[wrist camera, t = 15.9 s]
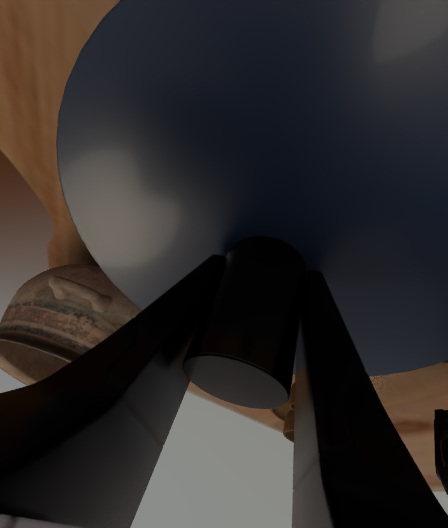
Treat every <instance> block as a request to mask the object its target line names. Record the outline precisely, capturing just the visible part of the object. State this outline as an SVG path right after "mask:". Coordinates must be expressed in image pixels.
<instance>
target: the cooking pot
mask: <svg viewBox="0 0 448 528" xmlns="http://www.w3.org/2000/svg"><path fill="white" fill-rule="evenodd" d="M141 311H142V310H141V309H140V308H139V307H138V306H137V305H136V304H134V303H133V302H132V301H131V300H130V299H129V298H128V297H127V296H126V295H125V294H124V293H123V292H122V291H121V290H120V289H119V288H118V287H117V286H116V285H115V284H114V283H113V282H112V281H111V280H110V279H109V277H108V276H107V275H106V274H105V273H104V272H103V270H102V269H101V268H100V266H94V265H84V264H82V265H65V266H61V267H56V268H52V269H49V270H47V271H44V272H42V273H40V274H38V275H37V276H35V277H33V278H31V279H30V280H28V281H27V282H26V283H24V284H23V285H22V287H20V288H19V290H18V291H17V292H16V294H15V295H14V297H13V299H12V300H11V302H10V304H9V305H8V307H7V309H6V311H5V313H4V315H3V317H2V320H1V322H0V368H1V369H2V370H3V371H5V372H6V373H8V374H9V375H11V376H12V377H14V378H16V379H17V380H19V381H20V382H22V383H24V384H26V385H27V386H28V385H31V384H34V383H36V382H38V381H40V380H42V379H44V378H46V377H48V376H50V375H51V374H53V373H55V372H56V371H58V370H59V369H61V368H62V367H64V366H65V365H67V364H68V363H70V362H71V361H73V360H74V359H76V358H77V357H79V356H81V355H82V354H84V353H85V352H87V351H88V350H90V349H91V348H93V347H94V346H96V345H97V344H98V343H100V342H101V341H103V340H104V339H106V338H107V337H109V336H110V335H111V334H113V333H114V332H115V331H117V330H118V329H119V328H121V327H122V326H123V325H124V324H126V323H127V322H128V321H130V320H131V319H132V318H135V316H136V315H137V314H138V313H140V312H141Z"/></svg>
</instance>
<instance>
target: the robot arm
mask: <svg viewBox="0 0 448 528" xmlns="http://www.w3.org/2000/svg"><path fill="white" fill-rule="evenodd" d="M225 259H226V258H225V256H223V255H217V254H213V255H211V256H210V257H209V258H207V259H206V260H205V261H204V262H202V263H201V264H200V265H199V266H197V267H196V268H195V269H194V270H192V271H191V272H190V273H189V274H187V275H186V276H185V277H184V278H182V279H181V280H180V281H179V282H177V283H176V284H175V285H174V286H172V287H171V288H170V289H169V290H167V291H166V292H165V293H164V294H162V295H161V296H160V297H159V298H157V299H156V300H155V301H154V302H152V303H151V304H150V305H148V306H147V307H146V308H145V309H143V310H142V311H141V312H140V313H138V314H137V315H136V316H135V318H132V319H131V320H130V321H128V322H127V323H126V324H124V325H123V326H122V327H121V328H119V329H118V330H117V331H115V332H114V333H113V334H111V335H110V336H109V337H107V338H106V339H104V340H103V341H101V342H100V343H98V344H97V345H96V346H94V347H93V348H91V349H90V350H88V351H87V352H85V353H84V354H82V355H81V356H79V357H77V358H76V359H74V360H73V361H71V362H70V363H68V364H67V365H65V366H64V367H62V368H61V369H59V370H58V371H56V372H55V373H53V374H51V375H50V376H48V377H46V378H44V379H42V380H40V381H38V382H36V383H34V384H31V385H28V386H25V387H22V388H19V389H15V390H11V391H7V392H4V393H0V528H130V527H131V524H132V522H133V519H134V517H135V515H136V512H137V510H138V507H139V505H140V502H141V500H142V497H143V495H144V493H145V490H146V487H147V485H148V483H149V480H150V477H151V475H152V473H153V471H154V468H155V466H156V463H157V461H158V458H159V456H160V453H161V451H162V448H163V445H164V443H165V441H166V439H167V436H168V434H169V431H170V429H171V426H172V424H173V421H174V419H175V417H176V414H177V412H178V409H179V407H180V404H181V402H182V399H183V397H184V394H185V392H186V390H187V387H188V385H189V382H190V380H189V379H188V377H187V376H186V375H185V373H184V371H183V368H182V363H183V360H184V358H185V355H186V353H187V351H188V348H189V346H190V343H191V341H192V339H193V336H194V334H195V331H196V329H197V327H198V324H199V322H200V319H201V317H202V315H203V312H204V310H205V307H206V305H207V303H208V300H209V298H210V295H211V293H212V291H213V288H214V286H215V283H216V281H217V278H218V276H219V274H220V271H221V269H222V266H223V264H224V262H225ZM443 362H447V363H448V360H446V361H443ZM365 370H366V369H365V367H364V365H363V363H362V360H361V358H360V356H359V354H358V351H357V349H356V347H355V345H354V343H353V340H352V338H351V336H350V334H349V331H348V329H347V327H346V325H345V323H344V320H343V318H342V316H341V314H340V311H339V309H338V307H337V305H336V303H335V300H334V298H333V296H332V294H331V291H330V289H329V287H328V285H327V283H326V280H325V278H324V276H323V274H322V272H320V271H315V270H308V271H307V274H306V279H305V287H304V294H303V302H302V309H301V317H300V324H299V332H298V339H297V347H296V365H295V414H294V464H293V465H294V466H293V512H292V528H448V515H447V514H446V512H445V511H444V509H443V508H442V506H441V505H440V503H439V502H438V500H437V499H436V497H435V496H434V494H433V492H432V491H431V489H430V487H429V486H428V484H427V482H426V480H425V479H424V477H423V475H422V474H421V472H420V470H419V468H418V467H417V465H416V463H415V462H414V460H413V458H412V456H411V455H410V453H409V451H408V450H407V448H406V446H405V444H404V443H403V441H402V439H401V438H400V436H399V434H398V432H397V431H396V429H395V427H394V425H393V424H392V422H391V420H390V418H389V416H388V414H387V413H386V411H385V409H384V407H383V405H382V403H381V401H380V399H379V397H378V395H377V393H376V391H375V389H374V387H373V385H372V382H371V380H370V378H369V376H368V373H367V372H365ZM434 439H435V467H436V474H437V476H438V478H439V479H440V480H441V482H442V484H443V487H444V489H445V491H446V493H447V495H448V410H443V409H437V410H435V420H434Z"/></svg>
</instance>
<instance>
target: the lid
mask: <svg viewBox="0 0 448 528" xmlns="http://www.w3.org/2000/svg"><path fill="white" fill-rule="evenodd" d="M56 145H57V161H58V171H59V176H60V181H61V186H62V191H63V195H64V198H65V201H66V204H67V207H68V210H69V213H70V216H71V218H72V220H73V222H74V224H75V227H76V229H77V231H78V233H79V235H80V237H81V239H82V240H83V242H84V244H85V245H86V247H87V249H88V251H89V252H90V254H91V255H92V257H93V258H94V259H95V261H96V262H97V264H98V265H99V266H100V268H101V269H102V270H103V272H104V273H105V274H106V275H107V276H108V277H109V279H110V280H111V281H112V282H113V283H114V284H115V285H116V286H117V287H118V288H119V289H120V290H121V291H122V292H123V293H124V294H125V295H126V296H127V297H128V298H129V299H130V300H131V301H132V302H133V303H134V304H136V305H137V306H138V307H139V308H140V309H141V310H143V309H145V308H146V307H147V306H148V305H150V304H151V303H152V302H154V301H155V300H156V299H157V298H159V297H160V296H161V295H162V294H164V293H165V292H166V291H167V290H169V289H170V288H171V287H172V286H174V285H175V284H176V283H177V282H179V281H180V280H181V279H182V278H184V277H185V276H186V275H187V274H189V273H190V272H191V271H192V270H194V269H195V268H196V267H197V266H199V265H200V264H201V263H202V262H204V261H205V260H206V259H207V258H209V257H210V256H211V255H213V254H217V255H223V256H225V258H226V259H225V262H224V264H223V266H222V269H221V271H220V274H219V276H218V278H217V281H216V283H215V286H214V288H213V291H212V293H211V295H210V298H209V300H208V303H207V305H206V307H205V310H204V312H203V315H202V317H201V319H200V322H199V324H198V327H197V329H196V331H195V334H194V336H193V339H192V341H191V343H190V346H189V348H188V351H187V353H186V355H185V358H184V360H183V363H182V368H183V371H184V373H185V375H186V376H187V377H188V379H189V380H190V381H191V382H192V383H194V384H195V385H196V386H198V387H199V388H200V389H202V390H204V391H205V392H207V393H209V394H211V395H213V396H215V397H217V398H219V399H222V400H224V401H227V402H230V403H233V404H236V405H240V406H245V407H250V408H258V409H271V408H277V407H281V406H283V405H284V404H286V403H287V402H288V400H289V398H290V392H291V384H292V377H293V374H295V365H296V347H297V339H298V332H299V324H300V317H301V309H302V302H303V294H304V287H305V279H306V274H307V271H308V270H315V271H320V272H322V274H323V276H324V278H325V280H326V283H327V285H328V287H329V289H330V291H331V294H332V296H333V298H334V300H335V303H336V305H337V307H338V309H339V311H340V314H341V316H342V318H343V320H344V323H345V325H346V327H347V329H348V331H349V334H350V336H351V338H352V340H353V343H354V345H355V347H356V349H357V351H358V354H359V356H360V358H361V360H362V363H363V365H364V367H365V369H366V370H365V372H367V373H368V376H379V375H387V374H393V373H399V372H405V371H410V370H415V369H419V368H423V367H427V366H431V365H434V364H437V363H440V362H443V361H446V360H448V0H120V1H119V2H118V3H117V4H116V5H115V6H114V7H113V8H112V9H111V10H110V11H109V12H108V13H107V14H106V15H105V16H104V17H103V19H102V20H101V22H100V23H99V25H98V26H97V27H96V29H95V30H94V32H93V33H92V35H91V36H90V38H89V39H88V41H87V42H86V44H85V45H84V47H83V48H82V50H81V51H80V54H79V56H78V58H77V60H76V63H75V65H74V67H73V69H72V72H71V74H70V76H69V78H68V81H67V83H66V87H65V91H64V95H63V99H62V103H61V107H60V111H59V117H58V128H57V140H56Z"/></svg>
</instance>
